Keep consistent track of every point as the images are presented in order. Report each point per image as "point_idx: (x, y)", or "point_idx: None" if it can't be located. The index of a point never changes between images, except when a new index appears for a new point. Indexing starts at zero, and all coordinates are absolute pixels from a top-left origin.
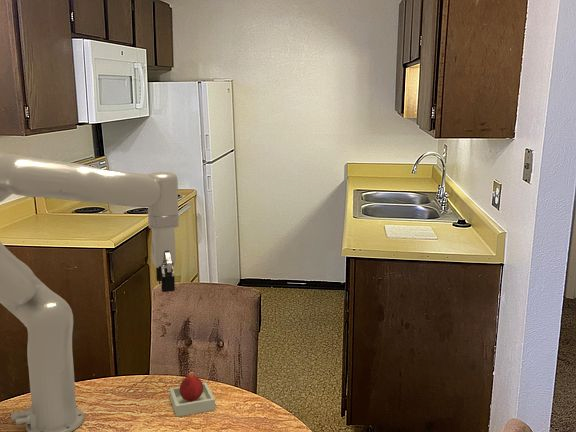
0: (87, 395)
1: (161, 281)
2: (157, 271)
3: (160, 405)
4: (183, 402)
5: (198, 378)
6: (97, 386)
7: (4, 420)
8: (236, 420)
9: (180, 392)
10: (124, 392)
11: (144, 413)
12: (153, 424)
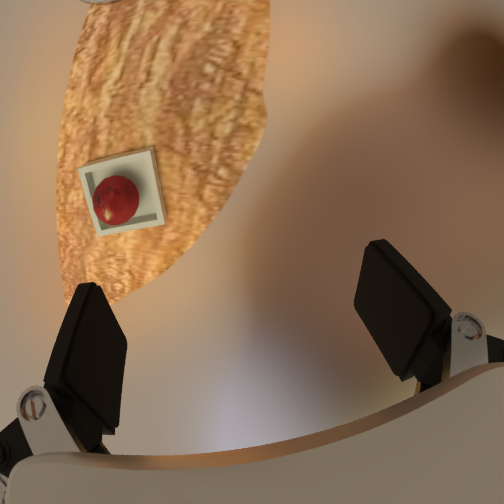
0: None
1: (62, 341)
2: (409, 294)
3: (130, 129)
4: (124, 174)
5: (113, 223)
6: (250, 7)
7: None
8: (75, 254)
9: (106, 178)
10: (204, 55)
11: (106, 102)
12: (68, 125)
